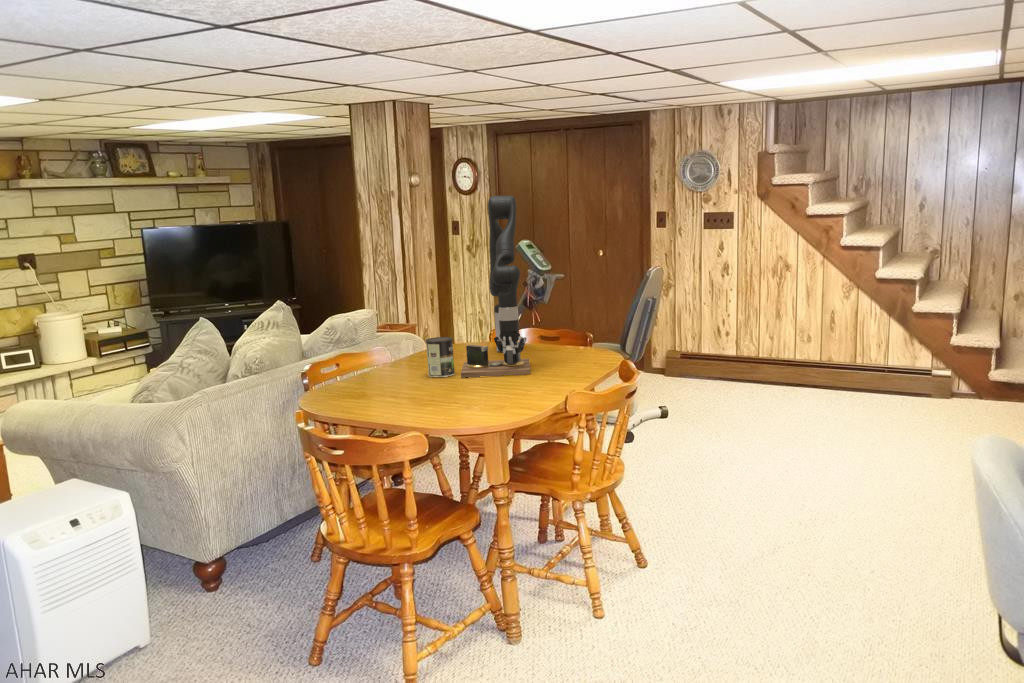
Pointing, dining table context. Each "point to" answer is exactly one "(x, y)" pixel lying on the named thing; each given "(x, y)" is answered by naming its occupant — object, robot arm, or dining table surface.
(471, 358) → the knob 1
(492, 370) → the base plate
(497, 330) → the robot arm
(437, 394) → the dining table surface
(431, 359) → the coffee can
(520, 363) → the knob
